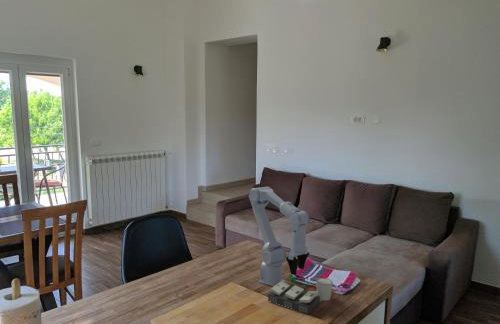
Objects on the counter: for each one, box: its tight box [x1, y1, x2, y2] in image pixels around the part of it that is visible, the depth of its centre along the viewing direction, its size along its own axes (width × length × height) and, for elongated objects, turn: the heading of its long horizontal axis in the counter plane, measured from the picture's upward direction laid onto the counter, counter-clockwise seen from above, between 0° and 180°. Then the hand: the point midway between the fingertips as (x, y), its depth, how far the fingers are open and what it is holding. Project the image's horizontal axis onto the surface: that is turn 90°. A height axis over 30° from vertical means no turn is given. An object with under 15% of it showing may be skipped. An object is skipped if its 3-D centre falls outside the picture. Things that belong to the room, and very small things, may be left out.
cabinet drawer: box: [300, 290, 318, 303], centre depth 144 cm, size 4×9×1 cm, turn 148°
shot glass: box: [315, 277, 334, 302], centre depth 153 cm, size 7×7×7 cm
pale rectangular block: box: [270, 281, 291, 295], centre depth 151 cm, size 4×9×1 cm, turn 147°
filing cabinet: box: [267, 286, 321, 316], centre depth 148 cm, size 18×11×4 cm, turn 57°
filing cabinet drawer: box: [285, 285, 305, 300], centre depth 148 cm, size 4×9×1 cm, turn 147°
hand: (297, 271), depth 155 cm, fingers open, 7 cm apart
